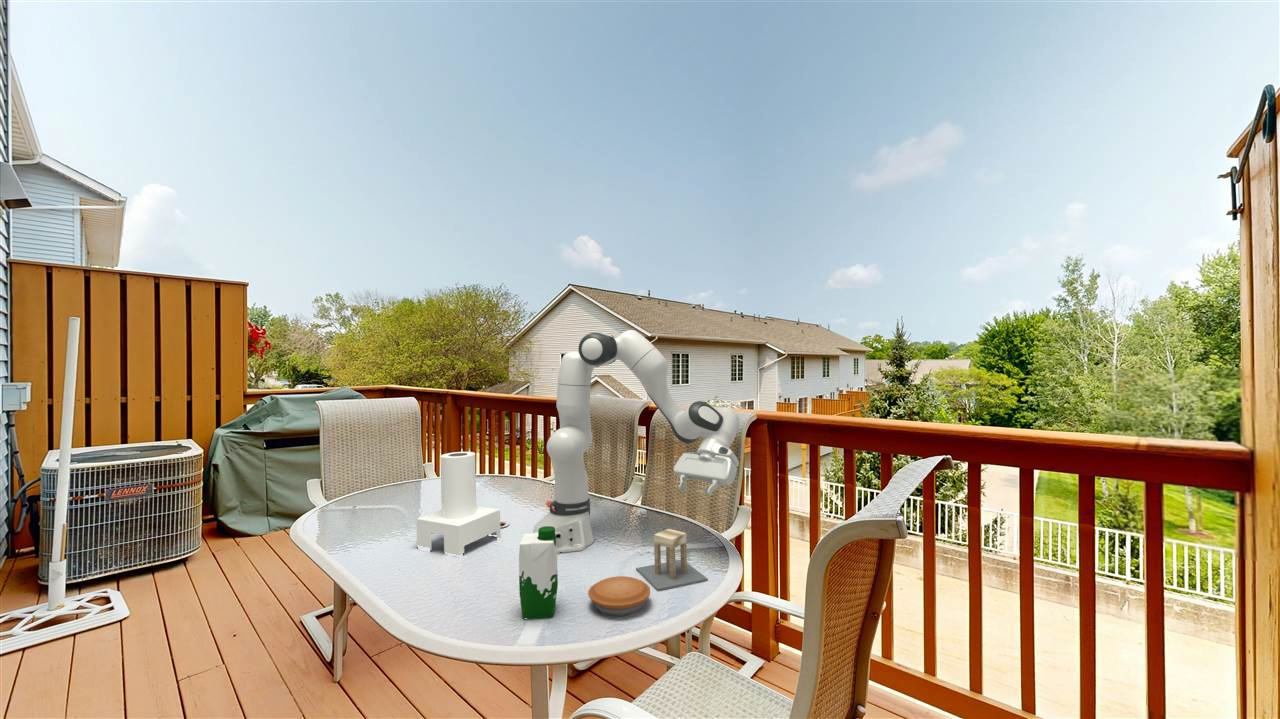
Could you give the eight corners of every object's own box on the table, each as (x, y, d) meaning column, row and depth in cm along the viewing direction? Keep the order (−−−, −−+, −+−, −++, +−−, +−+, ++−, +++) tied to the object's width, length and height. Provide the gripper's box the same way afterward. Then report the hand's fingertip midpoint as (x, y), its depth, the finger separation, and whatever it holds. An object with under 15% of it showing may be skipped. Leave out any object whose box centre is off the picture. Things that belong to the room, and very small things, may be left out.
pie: (600, 626, 117) (599, 604, 117) (580, 598, 131) (580, 578, 131) (661, 612, 123) (660, 591, 123) (636, 586, 137) (636, 568, 137)
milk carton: (556, 619, 121) (555, 534, 121) (517, 621, 120) (515, 536, 120) (559, 601, 129) (557, 522, 129) (523, 604, 128) (521, 524, 128)
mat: (657, 591, 134) (657, 589, 134) (636, 570, 148) (636, 568, 148) (707, 580, 140) (707, 578, 140) (682, 561, 154) (682, 559, 154)
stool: (673, 580, 139) (672, 539, 139) (654, 573, 143) (654, 534, 143) (686, 572, 144) (686, 533, 144) (669, 566, 148) (668, 528, 148)
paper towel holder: (460, 531, 185) (458, 448, 185) (500, 538, 177) (498, 451, 177) (417, 549, 168) (415, 457, 168) (459, 558, 160) (457, 461, 160)
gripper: (680, 444, 165) (662, 480, 158) (736, 451, 152) (718, 490, 144) (689, 456, 168) (671, 492, 161) (744, 463, 155) (727, 503, 148)
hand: (694, 491), depth 153 cm, fingers open, 8 cm apart
